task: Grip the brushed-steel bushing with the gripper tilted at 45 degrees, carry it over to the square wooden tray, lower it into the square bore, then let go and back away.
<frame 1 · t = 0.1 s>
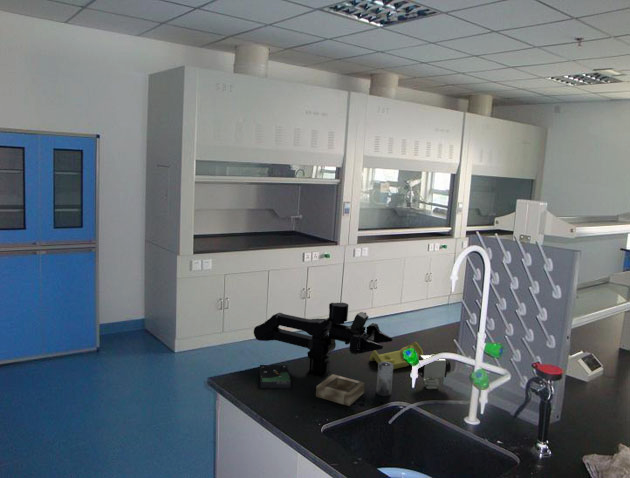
hand: (387, 343, 173), 17 cm above the worktop, tool horizontal, fingers open, 9 cm apart
bushing: (383, 392, 173), on the worktop
pneumatic valve: (429, 387, 180), on the worktop
plastic component: (397, 364, 200), on the worktop
square wooden tray: (341, 394, 169), on the worktop
disk drive: (274, 380, 179), on the worktop
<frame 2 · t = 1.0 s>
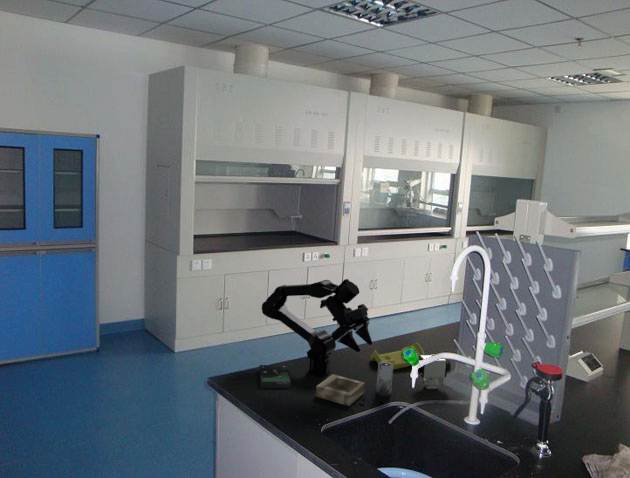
hand: (365, 347, 175), 14 cm above the worktop, tool tilted 45°, fingers open, 9 cm apart
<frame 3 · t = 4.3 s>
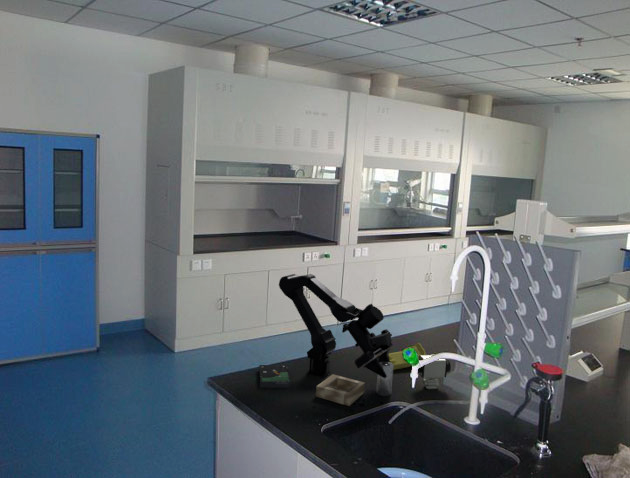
hand: (389, 375, 171), 7 cm above the worktop, tool tilted 45°, fingers closed on bushing, 5 cm apart
bushing: (383, 392, 173), on the worktop, touching gripper
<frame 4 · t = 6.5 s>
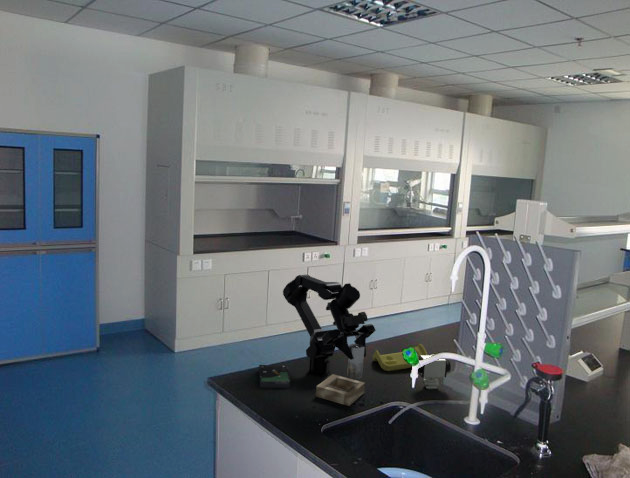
hand: (358, 357, 166), 13 cm above the worktop, tool tilted 45°, fingers closed on bushing, 5 cm apart
bushing: (354, 375, 168), point 7 cm above the worktop, touching gripper
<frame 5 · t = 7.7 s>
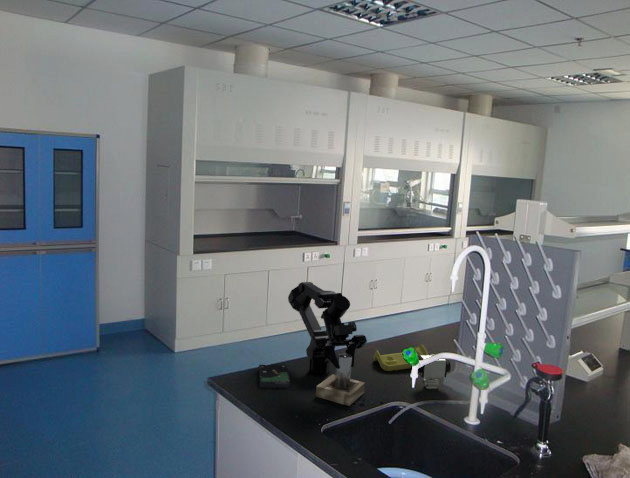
hand: (345, 367, 167), 10 cm above the worktop, tool tilted 45°, fingers closed on bushing, 5 cm apart
bushing: (342, 385, 169), point 3 cm above the worktop, touching gripper
when the fingers open (8 cm above the worktop, at t = 9.0 s): bushing drops 1 cm, resting in square wooden tray.
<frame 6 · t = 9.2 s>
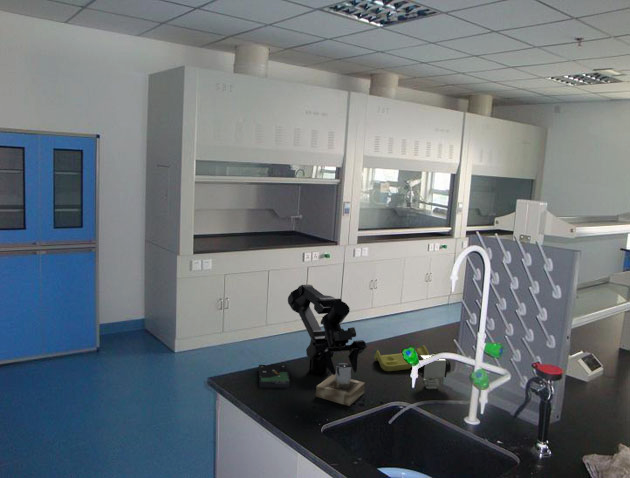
hand: (345, 373, 167), 8 cm above the worktop, tool tilted 45°, fingers open, 7 cm apart
bushing: (341, 394, 169), resting in square wooden tray
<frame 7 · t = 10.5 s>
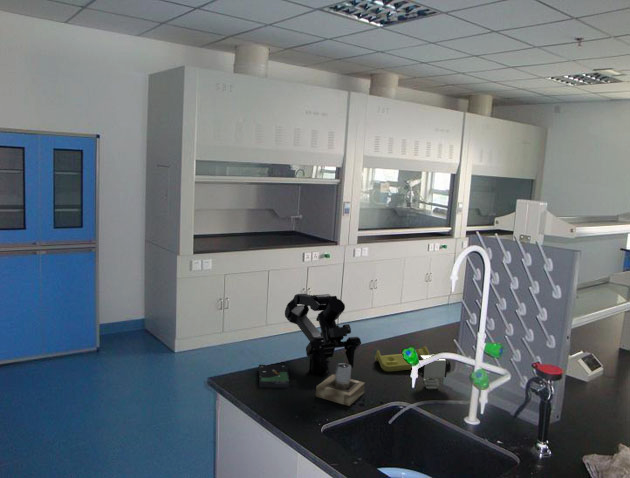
hand: (339, 369, 170), 8 cm above the worktop, tool tilted 45°, fingers open, 9 cm apart
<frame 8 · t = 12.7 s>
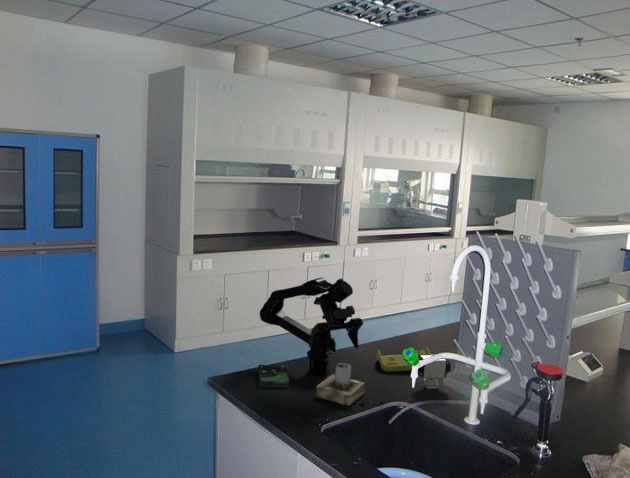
hand: (346, 349, 173), 14 cm above the worktop, tool tilted 45°, fingers open, 9 cm apart
at the end: bushing 0.1 cm off-centre on the square wooden tray, point 0.0 cm above the square wooden tray's base; bushing tilted 1°; the gripper is holding nothing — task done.
